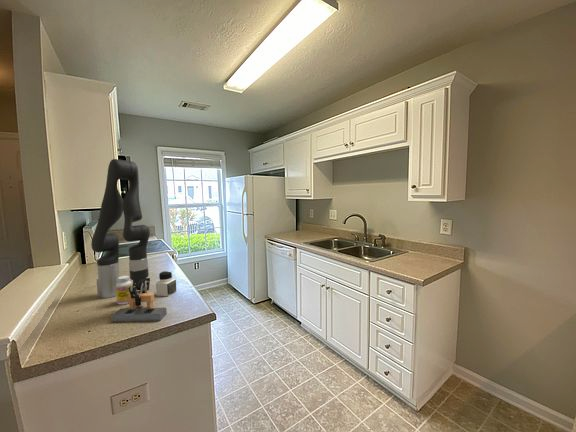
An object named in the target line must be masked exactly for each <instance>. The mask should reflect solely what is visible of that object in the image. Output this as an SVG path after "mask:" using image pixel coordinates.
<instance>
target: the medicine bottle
mask: <svg viewBox="0 0 576 432" xmlns="http://www.w3.org/2000/svg"><path fill="white" fill-rule="evenodd" d="M158 274H159V277H158V279H159V281H156V282H155V292H156V294H155V295H156V296H157V297H158V296H159V297H170V296H171V295H173V294H175V293H176V292H177V279H175V278H173V272H172V271H170V270H165V271H164V270H163V271H161V272H160V273H158Z"/></svg>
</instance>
